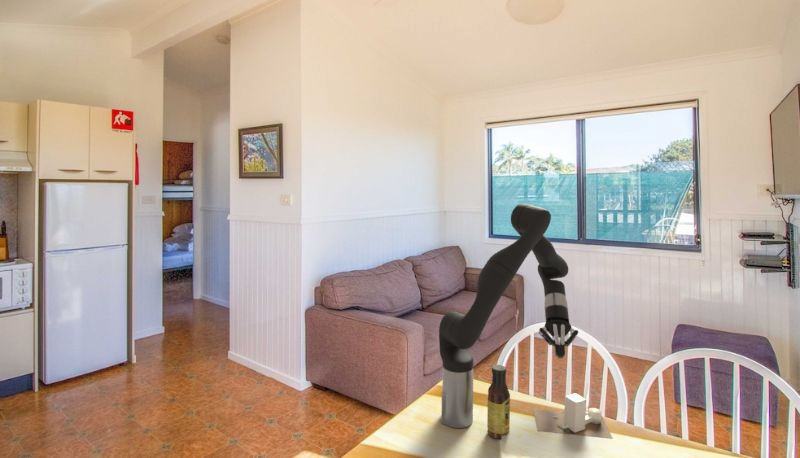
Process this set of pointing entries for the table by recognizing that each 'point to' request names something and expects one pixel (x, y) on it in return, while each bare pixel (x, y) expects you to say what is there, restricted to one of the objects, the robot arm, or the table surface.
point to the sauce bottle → (498, 404)
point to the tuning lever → (579, 413)
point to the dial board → (555, 424)
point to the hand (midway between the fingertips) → (560, 357)
